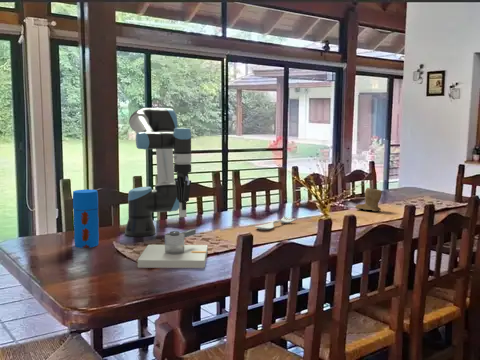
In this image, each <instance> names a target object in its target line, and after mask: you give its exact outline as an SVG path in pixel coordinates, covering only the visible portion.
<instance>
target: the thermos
mask: <svg viewBox="0 0 480 360" xmlns="http://www.w3.org/2000/svg"><path fill="white" fill-rule="evenodd" d="M72 213H73V214H72V215H73V238H74V239H73V240H74V247H75V248H79V249H89V248H94V247H95V248H96V247H97V246H99V242H100V228H99V227H100V223H99V222H100V221H99V220H100V219H99V218H100V217H99V192H98V190H97V189H76V190H73V191H72Z"/></svg>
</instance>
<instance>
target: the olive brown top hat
mask: <svg viewBox="0 0 480 360" xmlns="http://www.w3.org/2000/svg"><path fill="white" fill-rule="evenodd" d="M382 194H383V193H382V190H381V189H378V188H371V187H366V188H365V191H364V197H365V202H364V203H363V204H362V203H359V204H357V205H355V206H354V208H355V209H357V210H361V209H363V210H362V211H366V210H372V211H371V212H379V211H378V210H380V211H381V210H382V209H381V208H380V207H379V202H380V201H381V198H382Z"/></svg>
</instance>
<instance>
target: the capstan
mask: <svg viewBox="0 0 480 360" xmlns="http://www.w3.org/2000/svg"><path fill="white" fill-rule="evenodd" d="M193 235H196V229H195V228H191V229H189V230H185V231H181V232H180V231H177V230H174V231H173V230H172V231H170V232H166V233H165V234H164V245H165V253H167V254H181V253H184V245H185V238H188V237H191V236H193Z"/></svg>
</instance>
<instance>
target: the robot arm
mask: <svg viewBox="0 0 480 360" xmlns="http://www.w3.org/2000/svg"><path fill="white" fill-rule="evenodd" d="M128 124H129V127H130V129H131V130H133V131H134V132H135V133H136V134H135V146H136V148H137V149H138V150H155V153H156V154H155V155H156V175H157V183H156V184H155V185H154V189H153V187H151V186H140V187H135V188H132V189H130V190H129V191H128V195H127V196H128V197H127V201H128V202H127V203H128V207H127V208H128V212H127V213H128V218H127V219H128V220H127V223H126V225H125V226H126V227H125V228H124V234H125V236H129V237H136V238H137V237H149V236H153V235H155V234H156V233H157V232H156V231H157V230H156V225H155V222H154V220H153V213H167V212H169V213H170V212H177V211H179V213H178V215H179V218H186V217H187V203H188V202H190V193H191V185H192V180H191V179H190V180H189V173H192V164H191V163H192V130H191V128H189V127H179V126H178V124H179V123H178V117H177V114H176V111H175V110H174V109H173V108H169V107H168V108H166V107H141V108H139V109H137V110H135V111H134V112H133V113H131V115H130V117H129V120H128ZM175 173H176V174H177V175H176V177H175Z"/></svg>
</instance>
